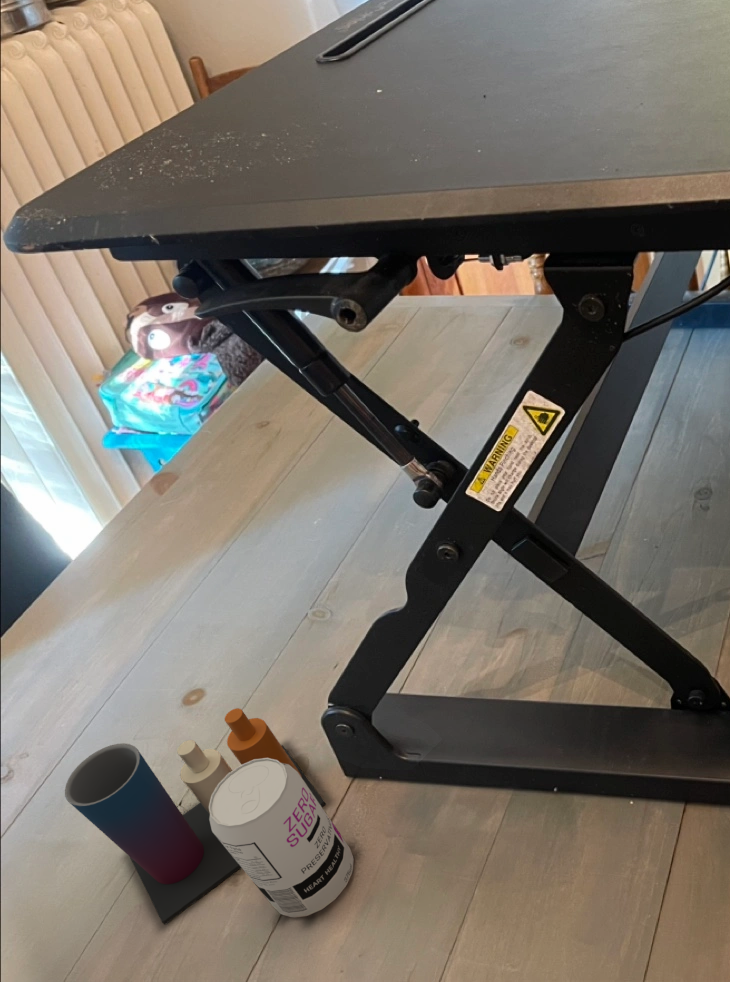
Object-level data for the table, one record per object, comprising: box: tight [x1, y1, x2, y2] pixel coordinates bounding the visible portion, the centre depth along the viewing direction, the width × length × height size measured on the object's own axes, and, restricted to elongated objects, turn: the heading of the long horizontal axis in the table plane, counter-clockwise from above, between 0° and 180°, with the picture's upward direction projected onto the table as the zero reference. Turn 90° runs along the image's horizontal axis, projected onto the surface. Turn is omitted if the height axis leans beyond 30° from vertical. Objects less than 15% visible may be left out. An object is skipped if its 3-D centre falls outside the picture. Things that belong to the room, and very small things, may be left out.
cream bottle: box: [176, 739, 234, 814], centre depth 107 cm, size 4×4×12 cm
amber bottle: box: [224, 707, 302, 778], centre depth 110 cm, size 4×4×12 cm
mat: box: [129, 744, 327, 925], centre depth 110 cm, size 18×11×1 cm, turn 132°
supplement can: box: [209, 758, 355, 918], centre depth 99 cm, size 8×8×15 cm
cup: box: [64, 742, 204, 884], centre depth 103 cm, size 7×7×15 cm
